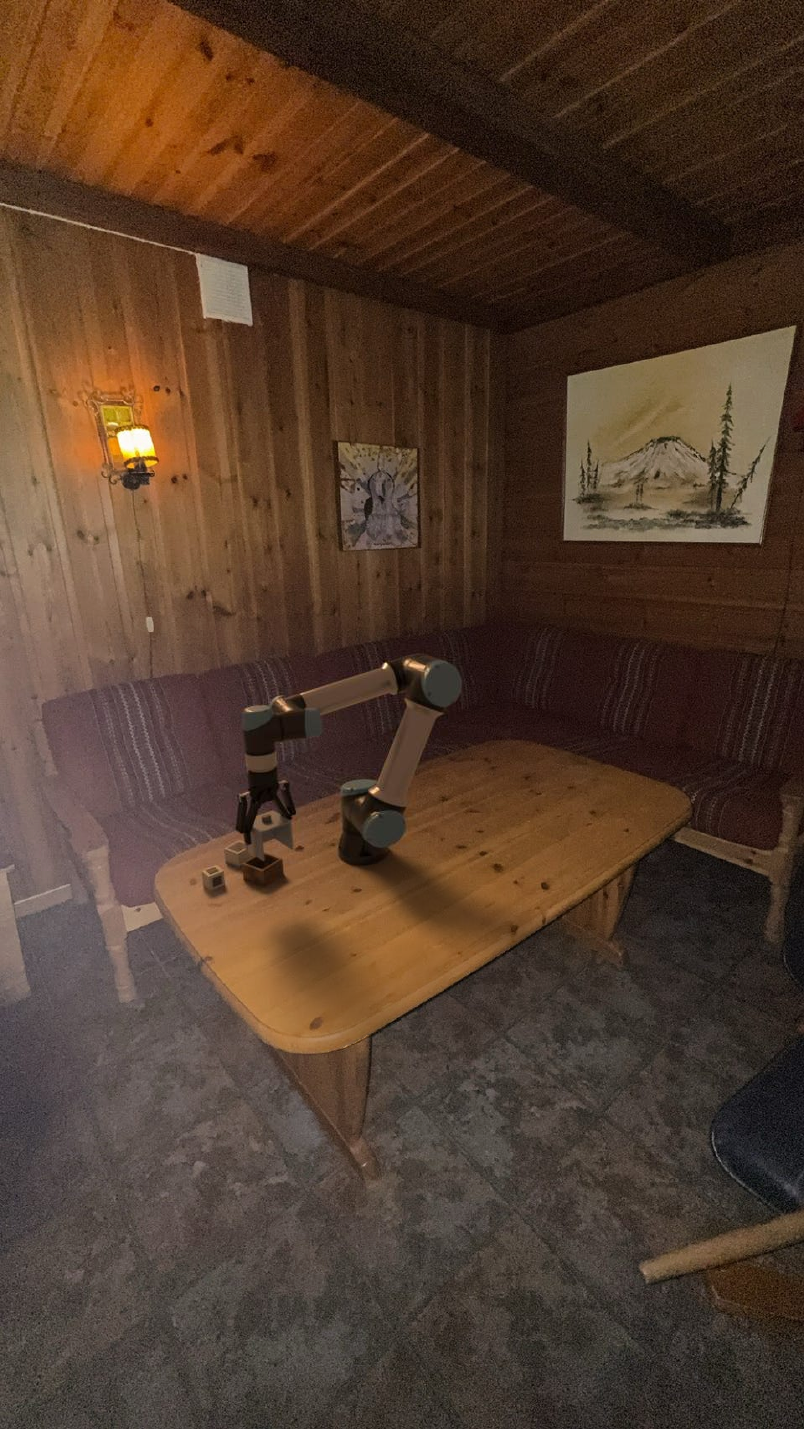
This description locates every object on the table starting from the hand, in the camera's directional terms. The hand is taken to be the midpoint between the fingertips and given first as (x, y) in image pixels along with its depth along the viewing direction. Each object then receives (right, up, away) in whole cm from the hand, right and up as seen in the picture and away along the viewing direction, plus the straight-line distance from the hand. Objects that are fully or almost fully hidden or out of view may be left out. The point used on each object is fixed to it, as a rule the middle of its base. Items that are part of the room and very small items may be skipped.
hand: (269, 847), depth 163 cm
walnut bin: (-5, -12, +16) cm, 20 cm away
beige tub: (-14, -9, +25) cm, 30 cm away
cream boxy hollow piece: (-18, -13, +12) cm, 26 cm away
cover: (0, 0, 0) cm, 0 cm away
